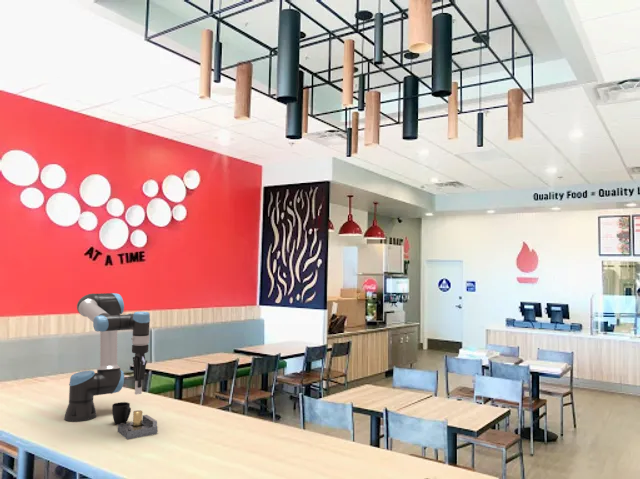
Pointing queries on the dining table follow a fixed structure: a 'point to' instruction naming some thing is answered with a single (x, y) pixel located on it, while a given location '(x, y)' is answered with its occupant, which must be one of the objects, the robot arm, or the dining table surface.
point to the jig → (138, 428)
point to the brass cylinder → (137, 418)
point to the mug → (121, 412)
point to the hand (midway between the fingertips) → (138, 393)
